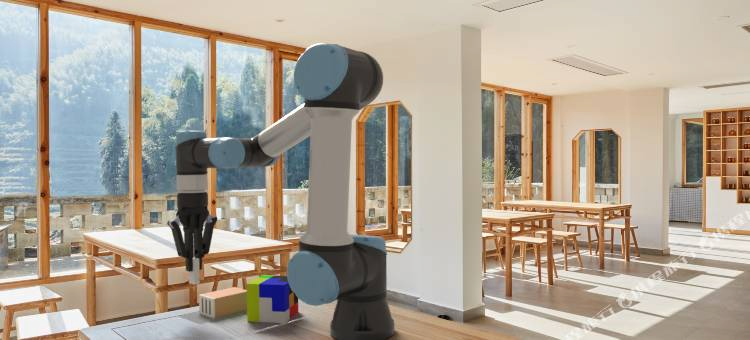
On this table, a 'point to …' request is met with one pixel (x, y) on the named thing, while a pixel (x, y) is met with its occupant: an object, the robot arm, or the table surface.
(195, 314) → the mat
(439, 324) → the table surface
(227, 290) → the block
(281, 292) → the puzzle toy
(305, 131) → the robot arm
